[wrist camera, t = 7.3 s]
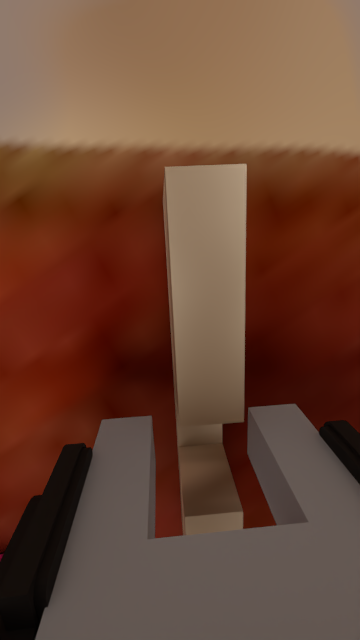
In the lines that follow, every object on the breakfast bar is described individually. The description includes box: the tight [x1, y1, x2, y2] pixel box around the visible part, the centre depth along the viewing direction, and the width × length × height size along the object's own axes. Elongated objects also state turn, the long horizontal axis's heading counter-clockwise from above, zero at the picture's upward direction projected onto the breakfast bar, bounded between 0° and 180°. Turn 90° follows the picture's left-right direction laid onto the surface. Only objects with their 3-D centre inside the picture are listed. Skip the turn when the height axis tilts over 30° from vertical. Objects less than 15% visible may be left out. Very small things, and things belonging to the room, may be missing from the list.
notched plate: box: [35, 404, 360, 640], centre depth 7 cm, size 2×7×8 cm, turn 93°
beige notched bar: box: [163, 164, 247, 536], centre depth 12 cm, size 2×18×6 cm, turn 3°
